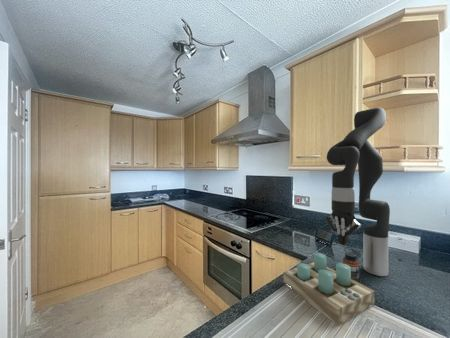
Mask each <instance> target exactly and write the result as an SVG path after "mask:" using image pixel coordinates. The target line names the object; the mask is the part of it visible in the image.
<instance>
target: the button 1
mask: <svg viewBox="0 0 450 338" xmlns="http://www.w3.org/2000/svg"><path fill="white" fill-rule="evenodd" d="M307 264H308V263H307ZM307 264H306V263H302V262H300V263H297V265H296V268H297V278H299V279H300V280H302V281H303V282H306V281H308V280H310V266H309V265H307Z"/></svg>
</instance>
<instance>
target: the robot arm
mask: <svg viewBox="0 0 450 338" xmlns="http://www.w3.org/2000/svg"><path fill="white" fill-rule="evenodd" d="M386 114H387V113H386V111H385V109H384V108H383V107H374V108H373V107H372V108H369V109H365V110H360V111H357V112H356V113H355V114H354V118H353V124H354V125H353V126H354V128H353V130H351V131H349V132H348V133H347V135H345V137H344V138H343V139H342V140H341V141H339V142H337V143H336V144H334V145H333V146H331V147H330V148H329V149H328V151H327V153H326V160H327V162H328V163H329V164H330V165H332V166H344V167H343V169H342V170H338V171H335V172H333V173H332V175H331V182H332V183H331V184H332V185H331V213H330V214H331V215H329V216H326V218H325V220H326V221H327V223H328V224H329V226H330V228H331V229H332V231H333V232H336V233H337V238H338V240H337V241H338V243H339V245H341V246H346V245H347V244H349V236H352V235H354V234H355V233H356V232H357V231H358V230H360V229H361V228H362V227H363V228H362V230H363V231H362V234H363V235H362V237H363V238H362V239H363V240H362V243H363V247H362V251H363V252H362V254H363V256H362V257H363V260H362V261H363V263H362V264H363V265H362V266H363V267H362V268H363V270H365V272H367V273H369V274H371V275H375V276H377V277H387V276H389V230H390V215H391V213H390V212H391V210H390V205H389V203H388V202H387V201H386V200H385V201H384V200H377V199H376V200H375V199H371V193H372V189H373V188H374V186H375V184H376V183H377V182H378V181H379V179H380V178H381V176H382V175H383V172H384V169H383V168H384V165H383V164H384V163H383V157H382V155H381V154H380V152H379V151H378V150H377V148H375V146H373V144H372V143H371V142H370V140H369V139H370V138H371V137H372V136H373V135H374V134H375V133H376V132H378V131H379V130H380V129H382V128H383V127H384V125H385V124H386V121H387V115H386ZM356 169H357V171H358V187H359V189H358V190H359V191H358V194H359V195H358V213H359V216H360V217H361V218H363V219H368V220H372V221H373V220H374V221H376V224H371V225H370V224H369V225H365V226H363V224H362V223H359V222H358V221H357V220H356V216H355V213H356V211H355V208H356V206H355V205H356V204H355V202H356V200H355V197H356V196H355V195H356V194H355V188H354V186H355V183H354V182H355V173H356Z"/></svg>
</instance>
